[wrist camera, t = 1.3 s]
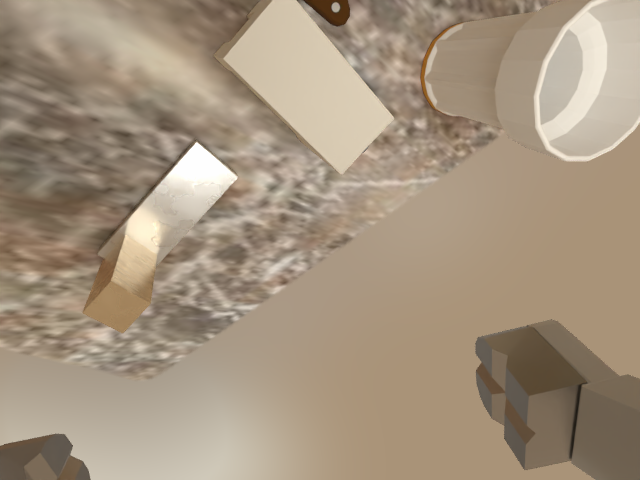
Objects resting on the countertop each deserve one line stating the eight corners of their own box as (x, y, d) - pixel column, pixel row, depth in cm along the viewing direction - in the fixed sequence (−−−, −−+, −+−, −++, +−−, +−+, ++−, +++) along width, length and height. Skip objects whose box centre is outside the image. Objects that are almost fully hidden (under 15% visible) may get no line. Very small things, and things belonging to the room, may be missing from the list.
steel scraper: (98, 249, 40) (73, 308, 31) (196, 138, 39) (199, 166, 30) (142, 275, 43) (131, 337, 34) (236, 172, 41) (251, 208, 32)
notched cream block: (213, 56, 36) (223, 58, 27) (257, 2, 36) (284, -14, 26) (311, 152, 43) (348, 181, 33) (351, 108, 42) (400, 126, 32)
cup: (487, -13, 41) (665, -48, 26) (514, 89, 46) (673, 109, 31) (394, 49, 41) (518, 50, 26) (432, 144, 46) (552, 191, 31)
